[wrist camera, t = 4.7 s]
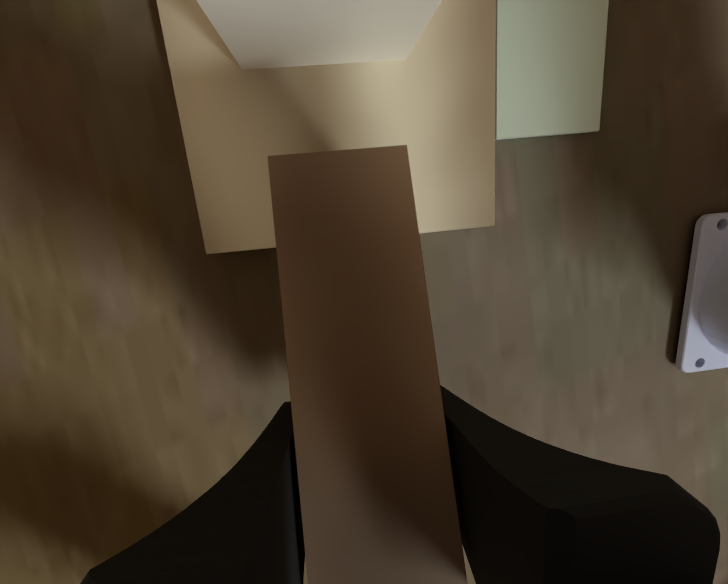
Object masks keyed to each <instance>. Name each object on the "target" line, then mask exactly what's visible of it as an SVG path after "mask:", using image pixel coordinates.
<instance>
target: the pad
mask: <svg viewBox="0 0 728 584" xmlns="http://www.w3.org/2000/svg"><path fill="white" fill-rule="evenodd" d="M608 5H609V0H496V43H495V140H501V139H514V138H526V137H538V136H551V135H563V134H576V133H588V132H596V131H599V128H600V115H601V101H602V87H603V73H604V60H605V46H606V32H607V18H608Z"/></svg>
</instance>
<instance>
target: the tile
mask: <svg viewBox="0 0 728 584" xmlns="http://www.w3.org/2000/svg"><path fill="white" fill-rule="evenodd" d="M441 1H442V0H197V2H198V4H199V5H200V7H201V8H202V10H203V11H204V13H205V14H206V16H207V17H208V19H209V20H210V22H211V23H212V25H213V26H214V28H215V29H216V31H217V32H218V34H219V35H220V37H221V38H222V40H223V41H224V43H225V44H226V46H227V47H228V49H229V51H230V52H231V54H232V55H233V57H234V58H235V60H236V61H237V63H238V64H239V66H240V67H241V69H242V70H245V69H261V68H278V67H294V66H310V65H326V64H342V63H358V62H374V61H391V60H405V59H406V58H407V56H408V54H409V53H410V51H411V50H412V48H413V46H414V45H415V43H416V41H417V40H418V38H419V37H420V35H421V33H422V32H423V30H424V29H425V27H426V25H427V24H428V22H429V21H430V19H431V17H432V16H433V14H434V12H435V11H436V9H437V8H438V6H439V4H440V3H441Z"/></svg>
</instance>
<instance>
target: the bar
mask: <svg viewBox="0 0 728 584" xmlns="http://www.w3.org/2000/svg"><path fill="white" fill-rule="evenodd" d="M268 167H269V177H270V188H271V198H272V209H273V219H274V230H275V240H276V251H277V261H278V272H279V282H280V293H281V303H282V314H283V325H284V335H285V346H286V356H287V367H288V377H289V388H290V398H291V409H292V419H293V430H294V440H295V451H296V461H297V472H298V482H299V493H300V503H301V514H302V524H303V535H304V545H305V556H306V566H307V577H308V584H467V578H466V570H465V563H464V556H463V549H462V541H461V534H460V527H459V520H458V512H457V505H456V498H455V491H454V483H453V476H452V469H451V461H450V454H449V447H448V440H447V432H446V425H445V418H444V411H443V403H442V396H441V389H440V382H439V374H438V367H437V360H436V353H435V345H434V338H433V331H432V324H431V316H430V309H429V302H428V295H427V287H426V280H425V273H424V266H423V258H422V251H421V244H420V237H419V229H418V222H417V215H416V208H415V200H414V193H413V186H412V179H411V171H410V164H409V157H408V150H407V145H398V146H386V147H373V148H361V149H348V150H336V151H323V152H311V153H298V154H286V155H273V156H268Z"/></svg>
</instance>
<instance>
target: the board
mask: <svg viewBox="0 0 728 584" xmlns="http://www.w3.org/2000/svg"><path fill="white" fill-rule="evenodd" d="M156 1H157V6H158V11H159V16H160V22H161V27H162V32H163V37H164V42H165V47H166V52H167V57H168V62H169V67H170V72H171V77H172V83H173V88H174V93H175V98H176V103H177V108H178V113H179V118H180V123H181V128H182V133H183V138H184V144H185V149H186V154H187V159H188V164H189V169H190V174H191V179H192V184H193V189H194V194H195V199H196V205H197V210H198V215H199V220H200V225H201V230H202V235H203V240H204V245H205V250H206V254H214V253H224V252H234V251H244V250H254V249H264V248H275V247H276V240H275V230H274V219H273V209H272V198H271V188H270V177H269V167H268V156H273V155H286V154H298V153H311V152H323V151H336V150H348V149H361V148H373V147H386V146H398V145H407V150H408V157H409V164H410V171H411V179H412V186H413V193H414V200H415V208H416V215H417V222H418V229H419V233H426V232H436V231H446V230H457V229H467V228H477V227H487V226H495V43H496V0H442V1H441V3H440V4H439V6H438V8H437V9H436V11H435V12H434V14H433V16H432V17H431V19H430V21H429V22H428V24H427V25H426V27H425V29H424V30H423V32H422V33H421V35H420V37H419V38H418V40H417V41H416V43H415V45H414V46H413V48H412V50H411V51H410V53H409V54H408V56H407V58H406V59H405V60H391V61H374V62H358V63H342V64H326V65H310V66H294V67H278V68H261V69H245V70H242V69H241V67H240V66H239V64H238V63H237V61H236V60H235V58H234V57H233V55H232V54H231V52H230V51H229V49H228V47H227V46H226V44H225V43H224V41H223V40H222V38H221V37H220V35H219V34H218V32H217V31H216V29H215V28H214V26H213V25H212V23H211V22H210V20H209V19H208V17H207V16H206V14H205V13H204V11H203V10H202V8H201V7H200V5H199V4H198V2H197V0H156Z"/></svg>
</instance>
